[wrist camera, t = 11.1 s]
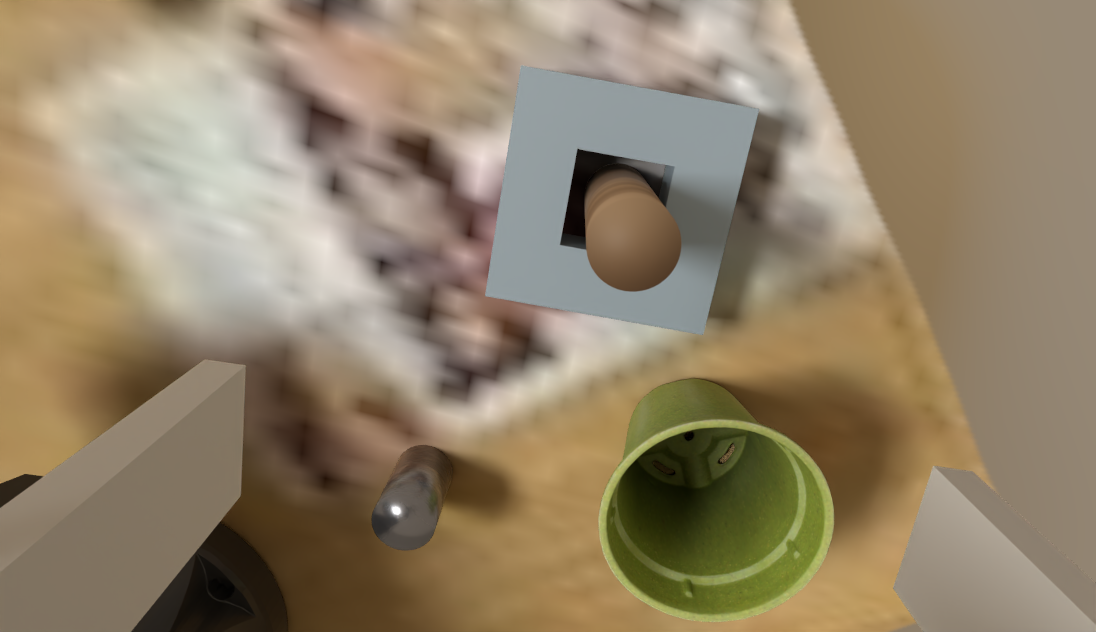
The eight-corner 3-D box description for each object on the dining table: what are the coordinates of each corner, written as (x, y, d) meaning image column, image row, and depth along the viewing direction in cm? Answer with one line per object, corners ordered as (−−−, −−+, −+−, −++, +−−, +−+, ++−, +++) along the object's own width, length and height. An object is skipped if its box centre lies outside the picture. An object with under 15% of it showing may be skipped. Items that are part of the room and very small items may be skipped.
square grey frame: (492, 280, 36) (485, 296, 34) (526, 68, 33) (521, 65, 31) (693, 316, 36) (703, 335, 34) (743, 107, 34) (759, 108, 31)
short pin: (393, 490, 40) (368, 544, 35) (400, 440, 39) (375, 489, 34) (448, 500, 40) (431, 555, 35) (456, 450, 39) (439, 500, 34)
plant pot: (717, 541, 40) (753, 657, 32) (563, 465, 39) (558, 564, 31) (815, 399, 38) (881, 486, 29) (652, 314, 37) (673, 379, 28)
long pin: (590, 158, 35) (596, 190, 23) (654, 169, 35) (691, 207, 23) (578, 221, 35) (578, 282, 24) (640, 232, 35) (669, 299, 24)
